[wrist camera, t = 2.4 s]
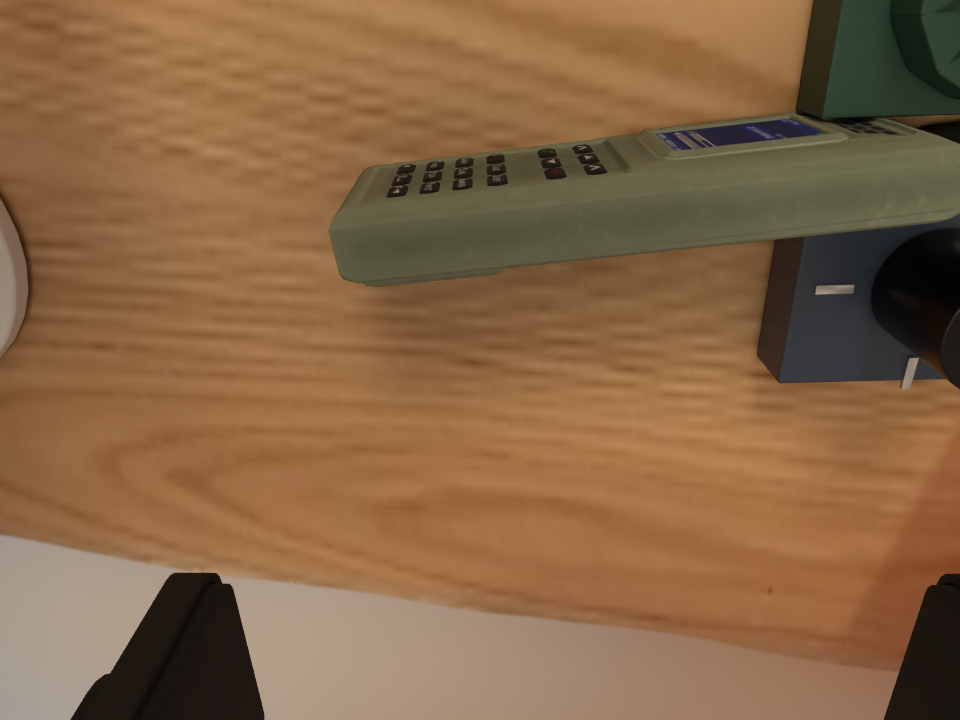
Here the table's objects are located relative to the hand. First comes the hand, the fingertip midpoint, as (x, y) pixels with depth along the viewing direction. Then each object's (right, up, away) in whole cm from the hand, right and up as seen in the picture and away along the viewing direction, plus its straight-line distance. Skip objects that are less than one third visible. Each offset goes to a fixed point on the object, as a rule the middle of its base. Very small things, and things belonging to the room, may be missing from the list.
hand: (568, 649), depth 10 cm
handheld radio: (+7, +12, +18) cm, 22 cm away
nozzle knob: (+15, +7, +16) cm, 24 cm away
